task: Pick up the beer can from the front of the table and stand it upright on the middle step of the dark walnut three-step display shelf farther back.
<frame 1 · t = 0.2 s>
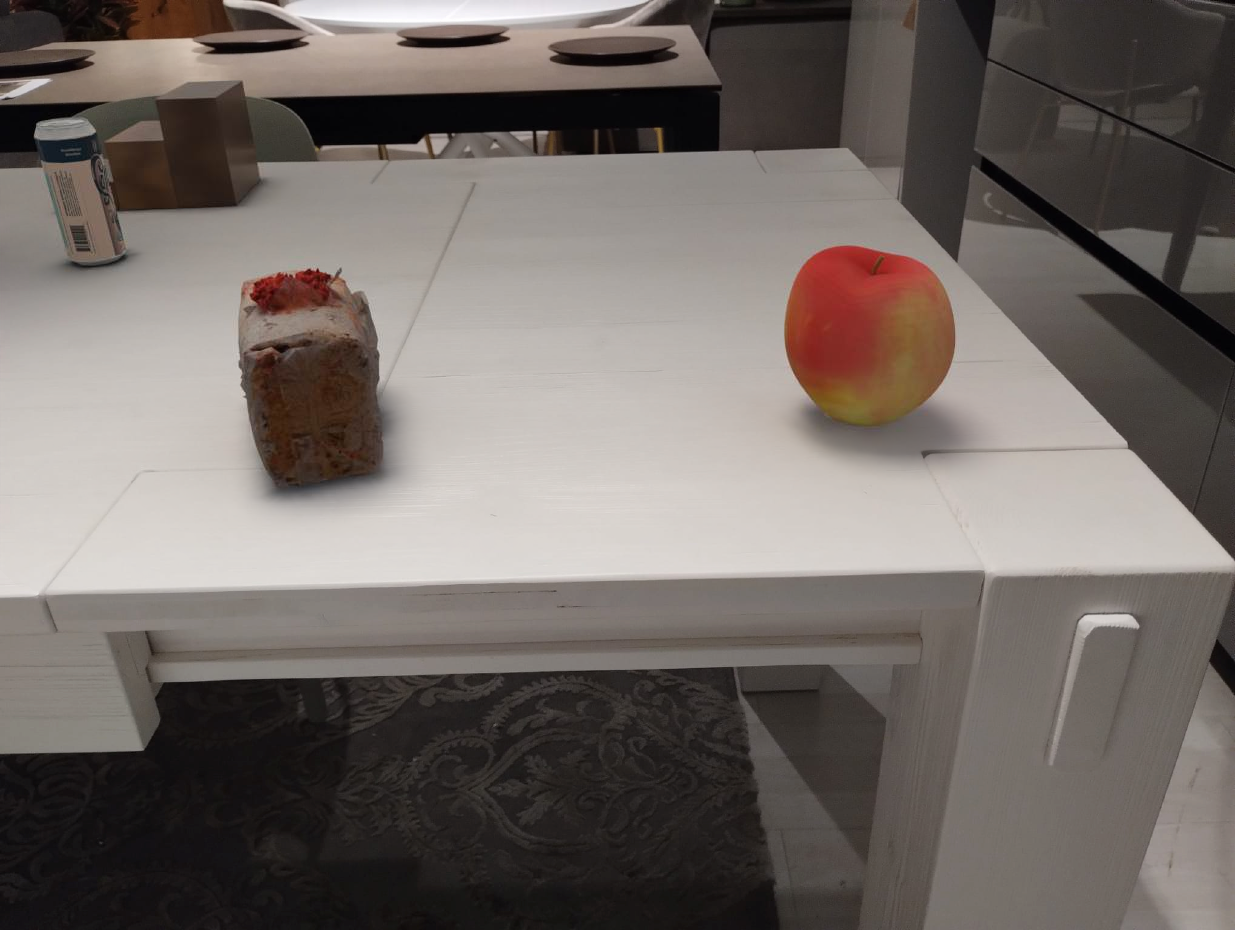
step shelf: (166, 195, 113), on the table
beer can: (99, 261, 92), on the table
food item: (324, 434, 61), on the table
apple: (858, 419, 61), on the table
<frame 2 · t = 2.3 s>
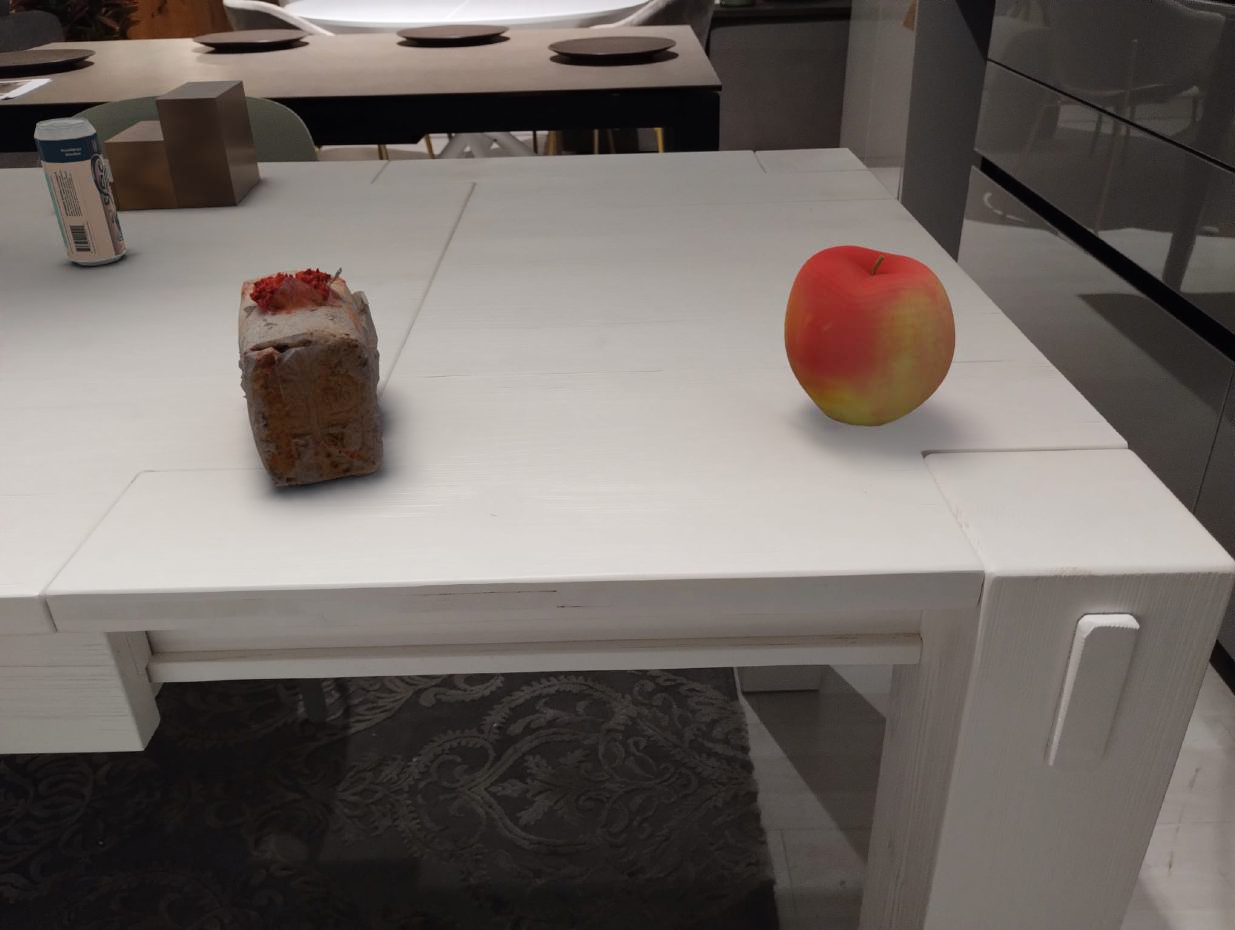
nothing on the table moved.
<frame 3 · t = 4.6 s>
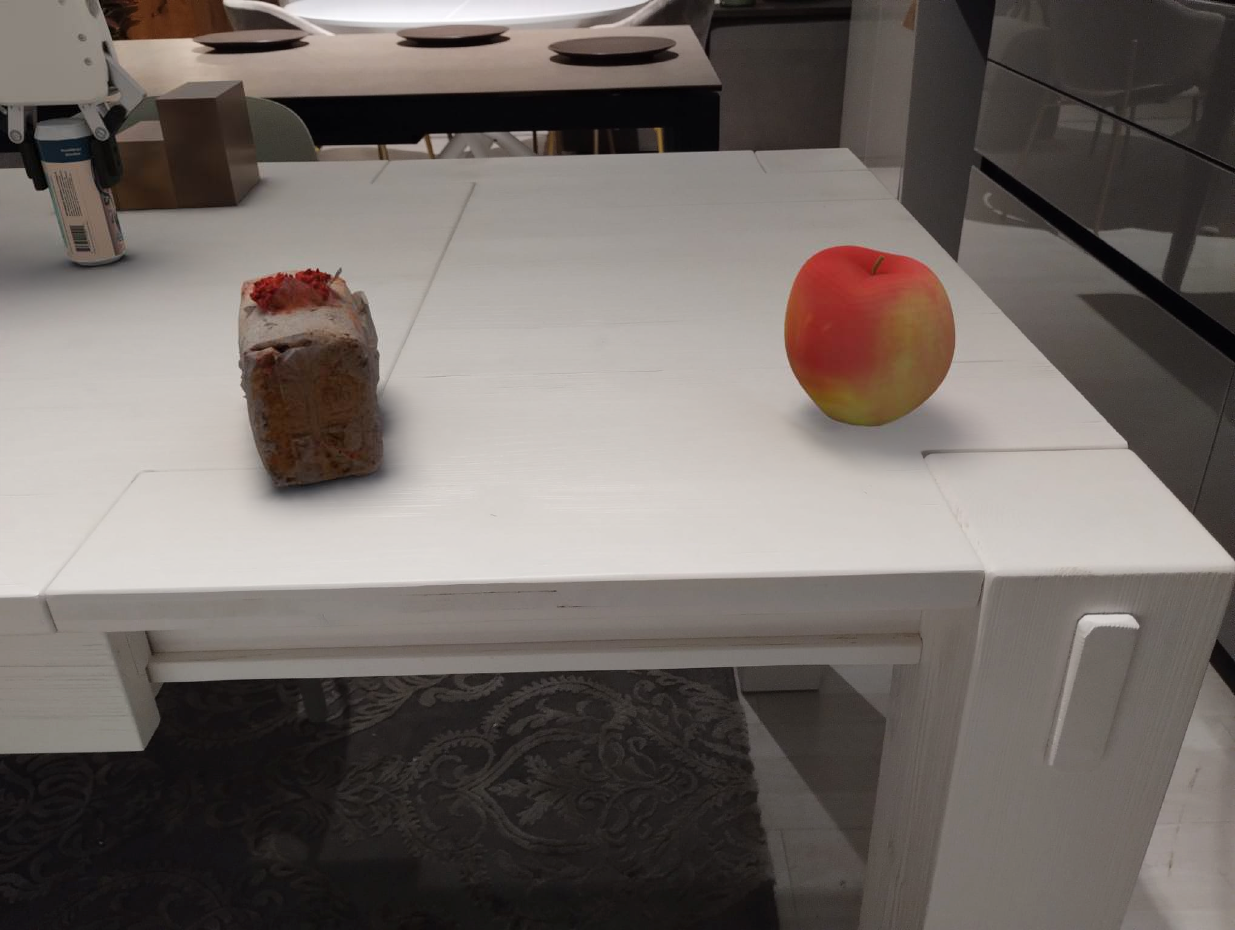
hand: (78, 183, 88), 7 cm above the table, tool pointing down, fingers closed on beer can, 4 cm apart
beer can: (99, 261, 92), on the table, touching gripper
everything else where it was.
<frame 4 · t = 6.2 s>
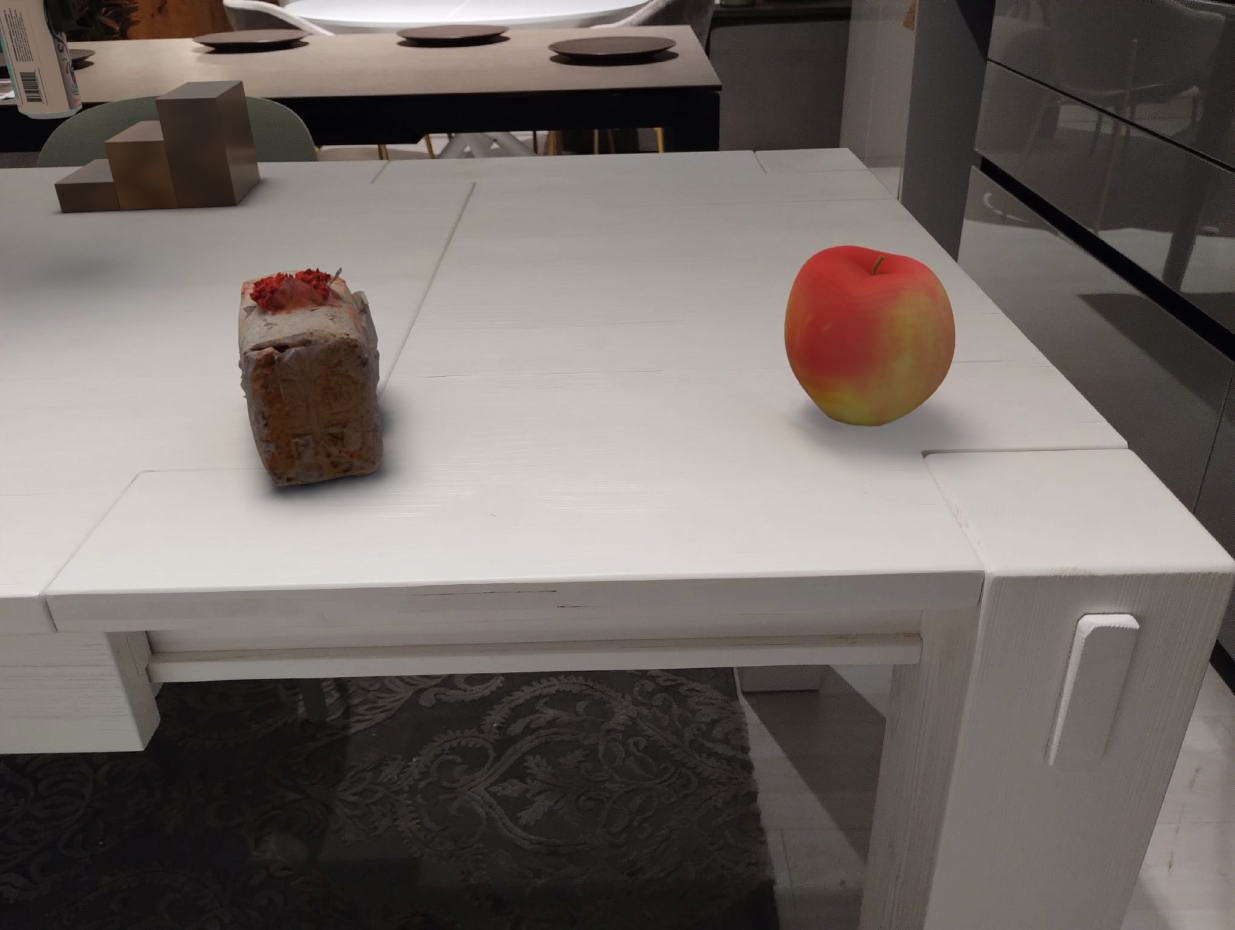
hand: (30, 27, 82), 19 cm above the table, tool pointing down, fingers closed on beer can, 4 cm apart
beer can: (53, 117, 86), point 12 cm above the table, touching gripper
everything else where it was.
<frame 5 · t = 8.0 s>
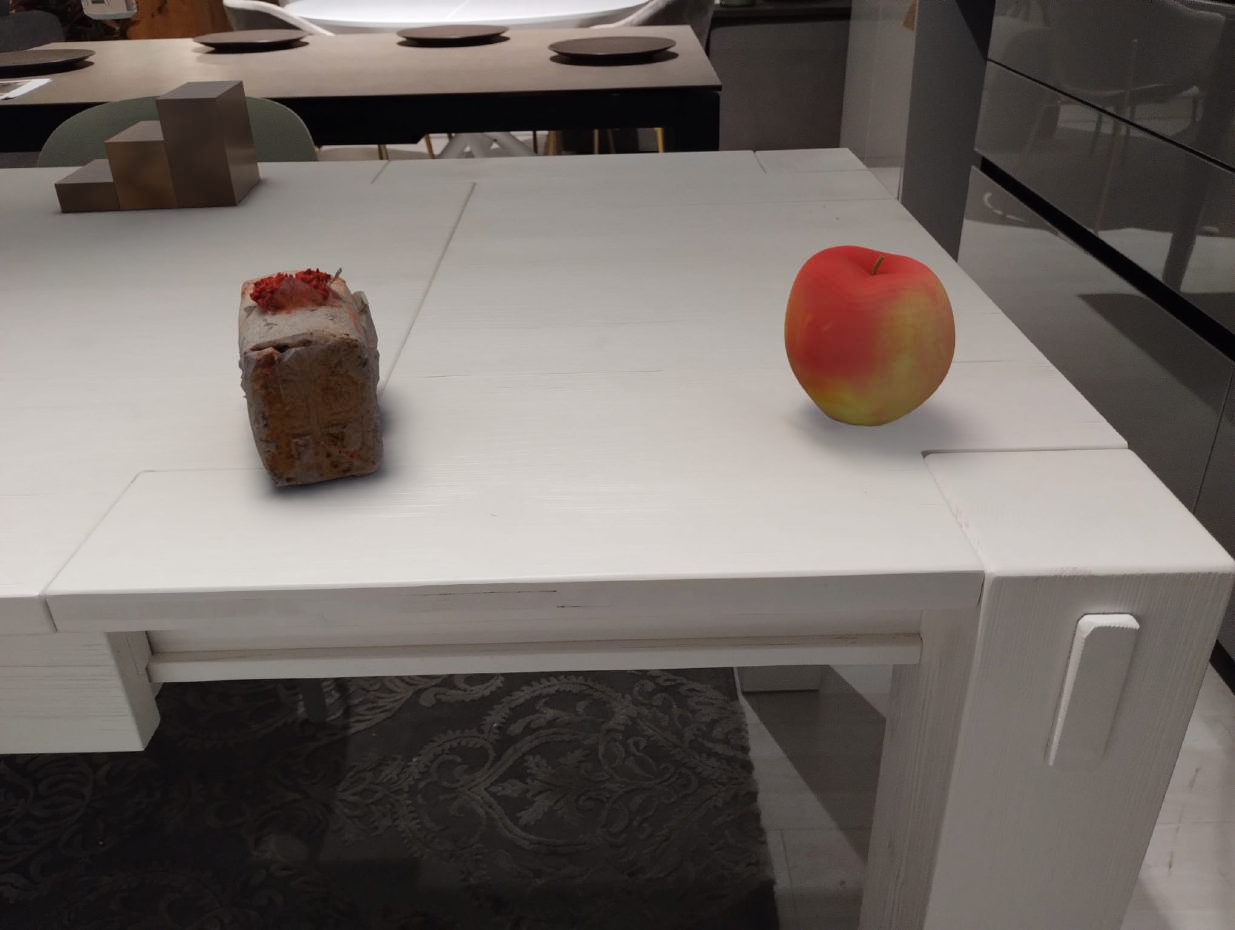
beer can: (112, 19, 100), point 18 cm above the table, touching gripper
everything else where it was.
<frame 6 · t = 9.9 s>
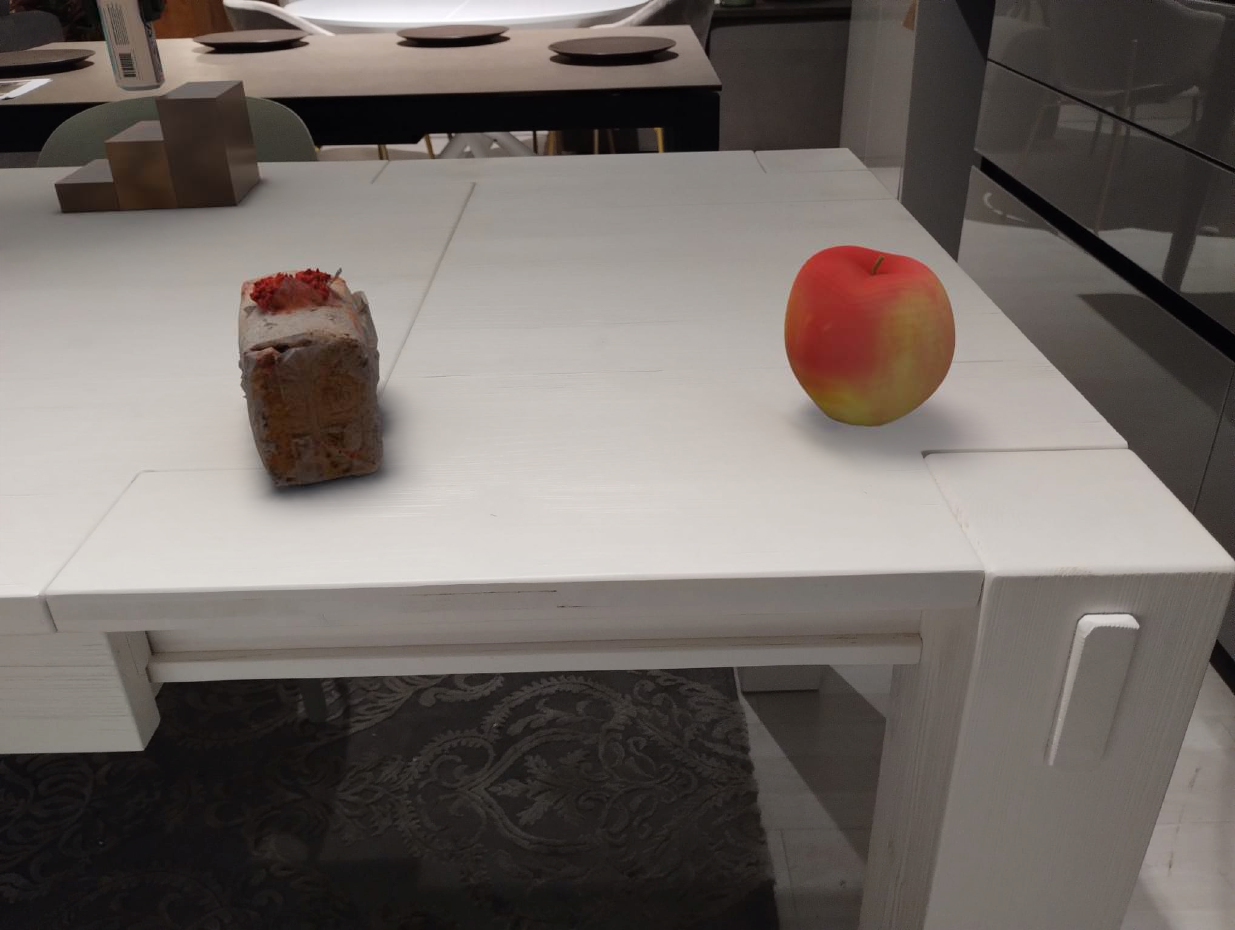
hand: (126, 18, 104), 18 cm above the table, tool pointing down, fingers closed on beer can, 4 cm apart
beer can: (142, 90, 107), point 11 cm above the table, touching gripper
everything else where it was.
when the fingers open (14 cm above the table, at t = 11.4 s): beer can stays where it is, resting on step shelf.
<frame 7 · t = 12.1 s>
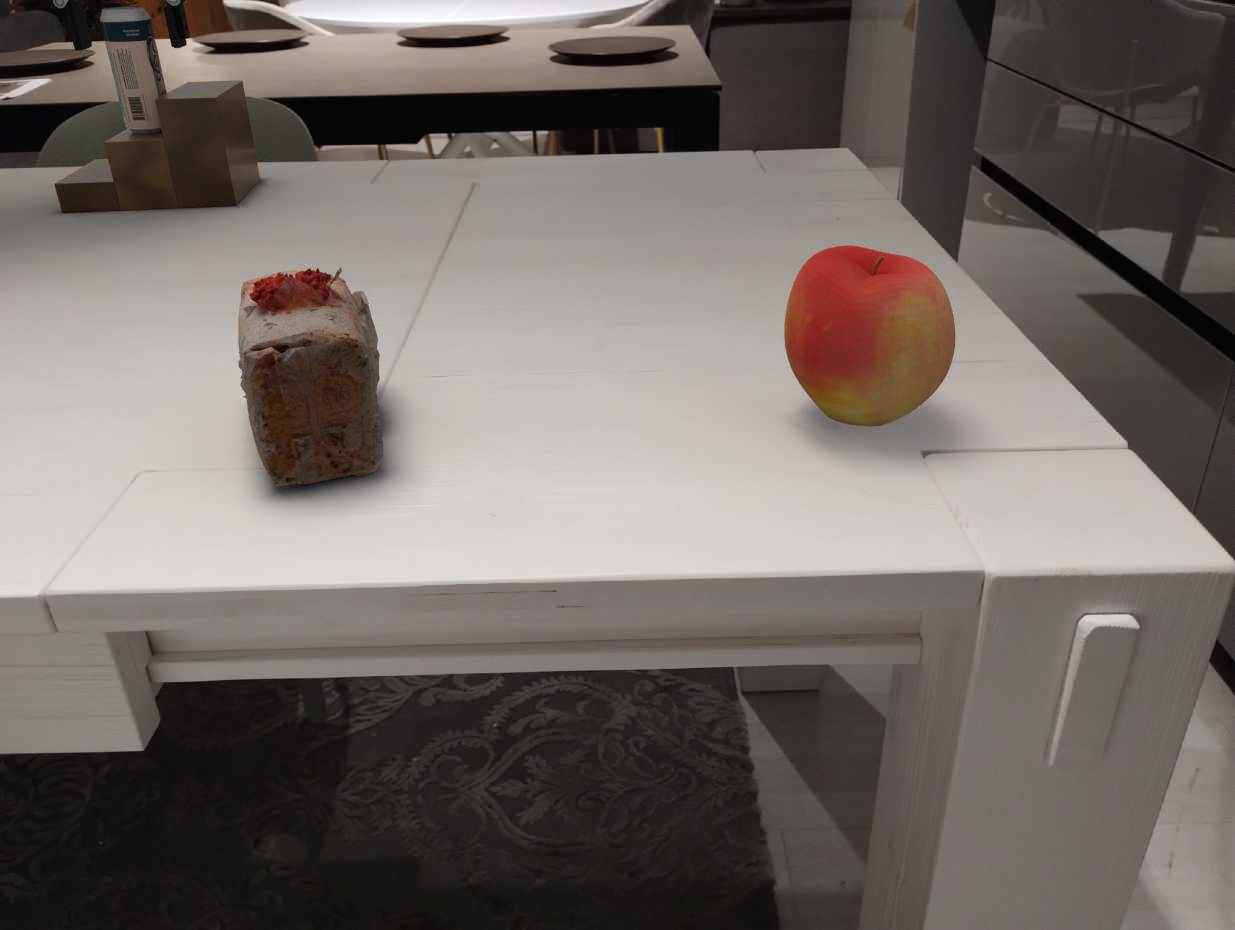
hand: (131, 47, 105), 15 cm above the table, tool pointing down, fingers open, 9 cm apart
beer can: (151, 132, 109), point 7 cm above the table, touching step shelf
everything else where it was.
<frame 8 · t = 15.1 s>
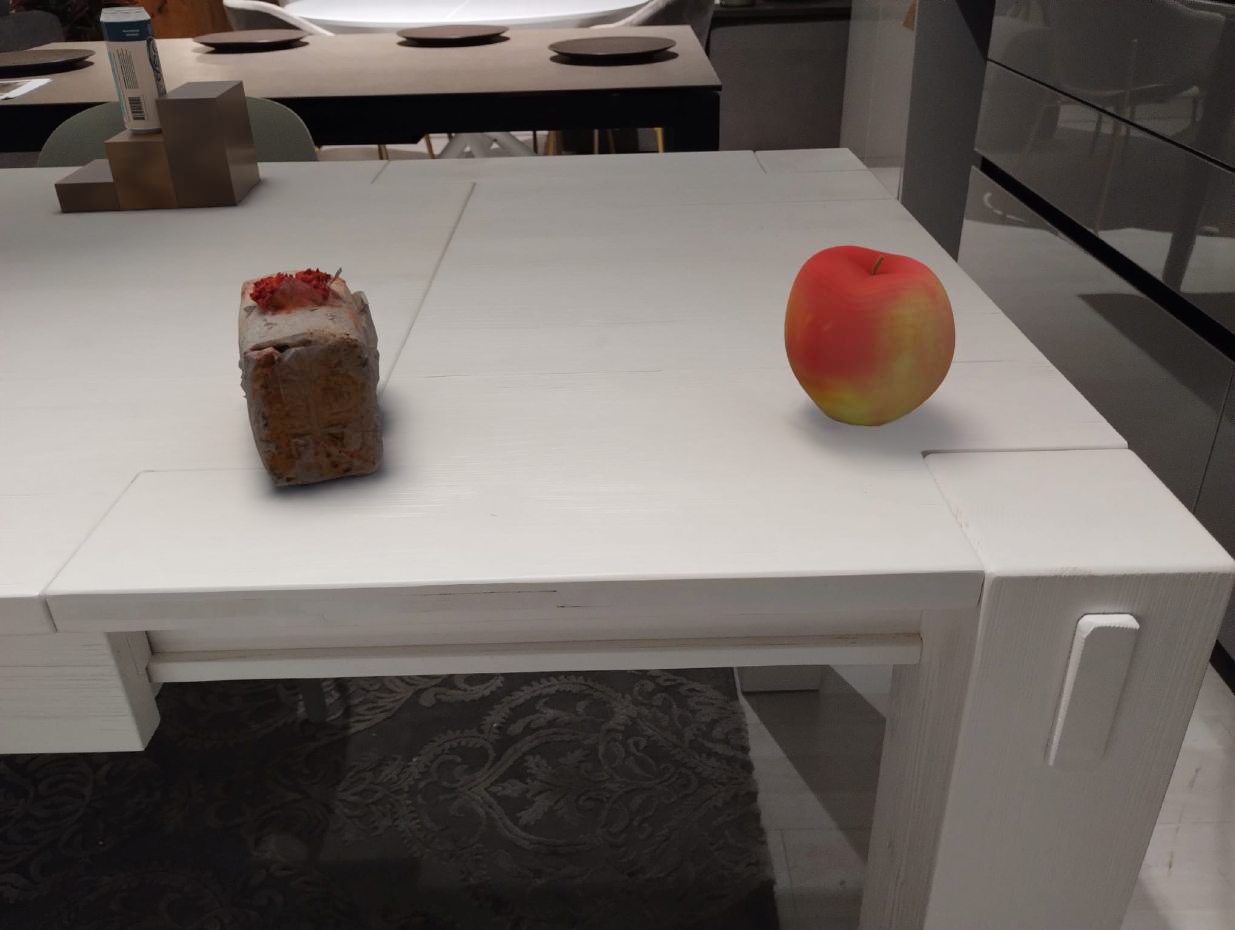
nothing on the table moved.
at the end: beer can 0.1 cm off-centre on the step shelf, point 6.8 cm above the step shelf's base; beer can tilted 0°; the gripper is holding nothing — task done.
